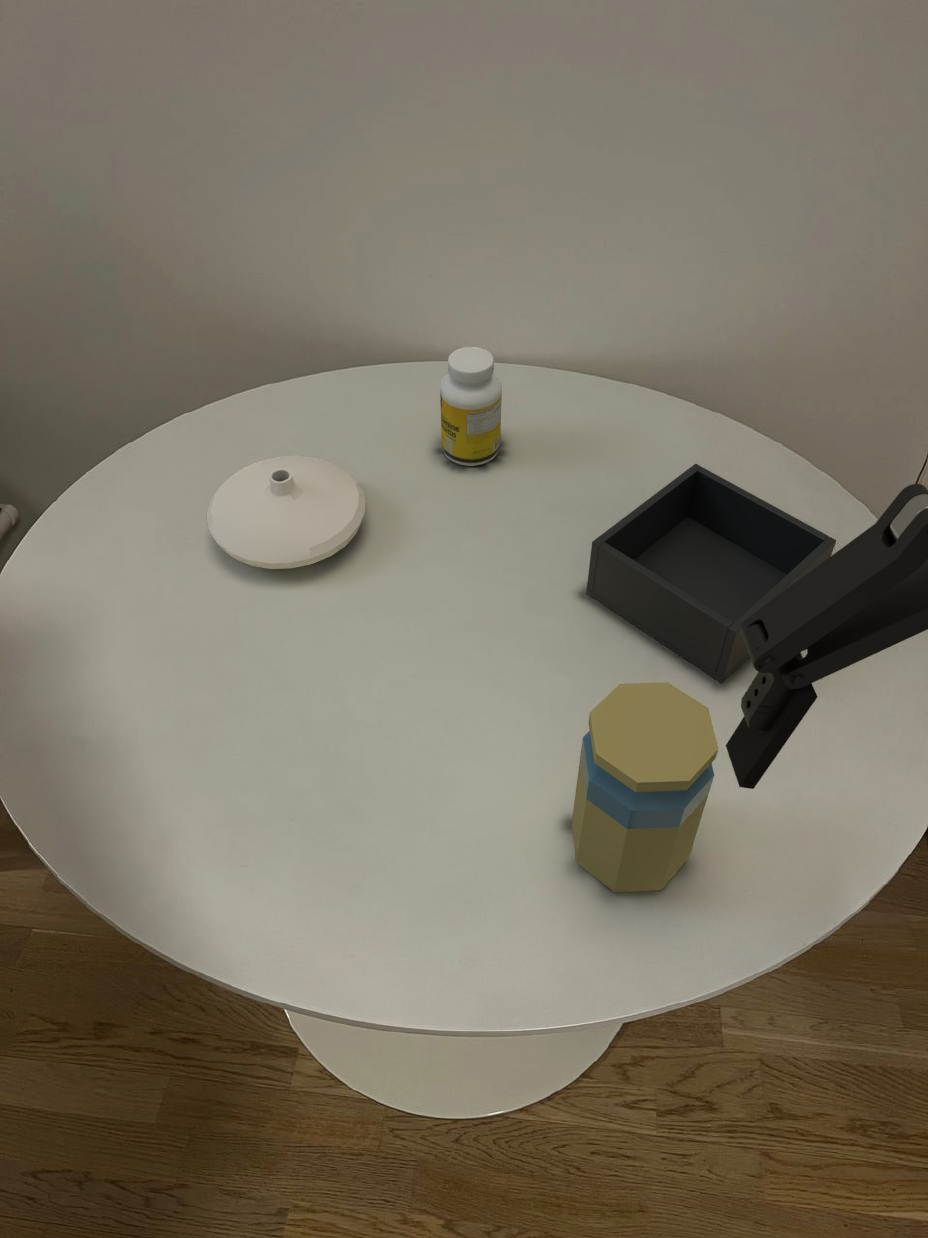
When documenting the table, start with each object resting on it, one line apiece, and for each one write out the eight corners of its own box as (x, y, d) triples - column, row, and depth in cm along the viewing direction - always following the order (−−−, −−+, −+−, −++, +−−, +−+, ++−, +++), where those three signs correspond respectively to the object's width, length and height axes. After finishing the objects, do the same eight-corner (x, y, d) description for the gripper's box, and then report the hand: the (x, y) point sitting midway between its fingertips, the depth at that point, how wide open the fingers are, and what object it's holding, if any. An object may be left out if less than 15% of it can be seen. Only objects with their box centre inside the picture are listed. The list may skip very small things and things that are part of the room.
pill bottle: (443, 431, 113) (440, 340, 104) (500, 432, 113) (502, 341, 104) (440, 468, 108) (437, 376, 100) (500, 469, 108) (502, 377, 100)
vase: (182, 562, 99) (166, 508, 94) (259, 466, 109) (248, 412, 104) (326, 602, 95) (317, 548, 90) (392, 499, 105) (388, 445, 100)
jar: (673, 916, 74) (708, 807, 63) (554, 877, 76) (566, 765, 65) (699, 814, 79) (734, 697, 68) (586, 780, 82) (603, 662, 70)
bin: (818, 592, 95) (837, 540, 90) (721, 683, 88) (736, 632, 83) (685, 515, 103) (695, 462, 98) (585, 593, 96) (591, 541, 91)
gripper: (1331, 442, 43) (1031, 761, 57) (819, 311, 38) (619, 696, 51) (1472, 546, 38) (1102, 873, 51) (893, 408, 33) (647, 813, 46)
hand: (859, 785), depth 51 cm, fingers open, 13 cm apart
